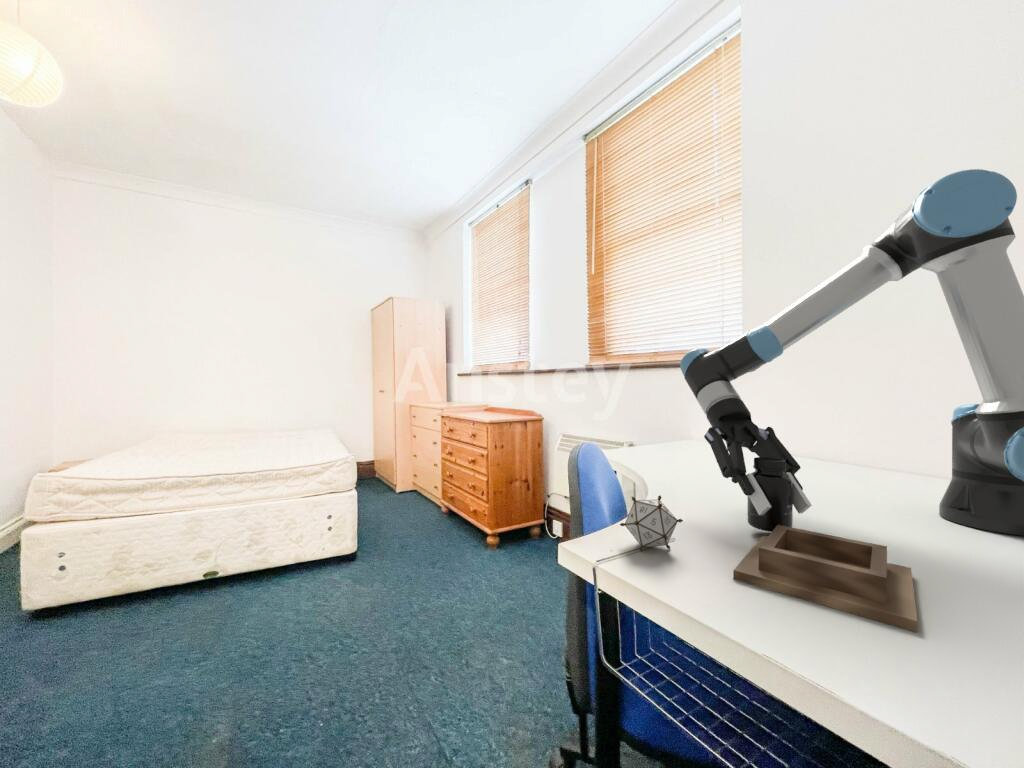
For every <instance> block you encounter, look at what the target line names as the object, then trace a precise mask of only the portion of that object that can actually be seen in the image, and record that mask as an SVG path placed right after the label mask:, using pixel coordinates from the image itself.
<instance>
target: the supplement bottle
mask: <svg viewBox="0 0 1024 768" xmlns="http://www.w3.org/2000/svg"><path fill="white" fill-rule="evenodd" d="M752 467H753V469H754V471H752V472H751V473H752V474H753V476H754V478H755V479H756V481H757V483H758V485H759V486H760V488H761V490H762V491H763V493H764V495H765V497H766V498H767V500H768V502H769V503H770V505H771V508H770V509H769V510H768V511H767V512H766V513H765V514H764V515H759V514H758V512H757V511H756V509H755V507H754V505H753V503H752V502H751V500H750V498H749V496H747V497H746V498H747V500H746V501H747V506H746V507H747V511H746V512H747V514H746V515H747V523H748V525H749V526H750V527H752V528H754V529H758V530H760V531H764V532H768V533H769V532H770V533H771V532H772V531H773V530H774V529H775V527H776V526H777V525H782V526H787V527H792V528H793V521H794V520H793V515H794V514H793V513H794V512H793V509H794V508H793V507H794V505H793V484H792V480H791V479H790V478H789V477H788V476H787V475H785V474H784V471H786V461H785V460H783V459H778V458H769V457H759V456H757V457H753V466H752Z"/></svg>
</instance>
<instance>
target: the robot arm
mask: <svg viewBox="0 0 1024 768" xmlns="http://www.w3.org/2000/svg"><path fill="white" fill-rule="evenodd" d="M1017 194H1018V193H1017V189H1016V187H1015V185H1014V183H1013V182H1012V181H1011V180H1010V179H1009V178H1007V177H1006V176H1005V175H1003V174H1001V173H998V172H996V171H993V170H992V171H990V170H987V169H981V168H980V169H979V168H977V169H976V168H975V169H965V170H959V171H956V172H953V173H952V172H951V173H950V174H946V175H945V176H943V177H942V178H939V179H938V180H936V181H935V182H933V183H932V184H931V185H929V186H927V187H926V188H925V189H923V190H922V191H921V192H920V193H919V194H918V195H917V196H916V198H915V199H914V201H913V202H912V203H911V204H910V205H909V206H908V207H907V208H906V209H905V210H903V212H902V213H900V215H899V216H898V217H897V218H896V219H895V220H894V222H893V223H892V224H891V225H889V227H888V228H886V230H885V231H884V232H882V234H880V235H879V236H878V237H877V238H876V239H874V240H873V241H872V242H871V243H869V244H868V245H866V246H865V247H863V249H862V254H861V256H859V257H858V258H856V259H854V260H853V261H852V262H850V263H849V264H848V265H846V266H845V267H843V268H842V269H841V270H839V271H838V272H836V273H835V274H834V275H832V276H830V277H829V278H828V279H826V280H825V281H823V282H822V283H821V284H819V285H818V286H816V287H815V288H813V289H812V290H811V291H809V292H808V293H806V294H805V295H804V296H802V297H801V298H799V299H798V300H796V301H795V302H793V303H792V304H790V306H788V307H787V308H785V309H784V310H782V311H781V312H780V313H778V314H776V315H775V316H774V317H772V318H771V319H769V320H768V321H766V322H765V323H764V324H762V325H759V326H757V327H755V328H753V329H749V330H748V331H746V332H745V333H743V334H742V335H740V336H738V337H737V338H735V339H733V340H731V341H729V342H728V343H726V344H724V345H723V346H721V347H719V348H717V349H716V350H712V351H710V350H708V349H706V348H698V349H693V350H690V351H688V352H686V354H685V355H684V356H683V357H682V359H681V360H680V363H679V366H680V367H679V368H680V370H681V373H682V375H683V377H684V380H685V382H686V383H687V385H688V387H689V388H690V390H691V392H692V393H693V396H694V397H695V399H696V401H697V403H698V405H699V406H700V407H701V410H702V411H703V413H704V414H705V415H706V419H707V421H708V422H709V424H710V426H711V427H709V428H708V430H707V431H706V432H705V434H704V436H703V437H704V439H705V441H706V442H707V443H708V444H709V445H710V447H711V450H712V452H713V455H714V457H715V460H716V463H717V465H718V467H719V470H720V473H721V475H722V476H723V478H725V479H729V478H731V479H730V480H731V482H732V483H733V484H738V485H739V487H740V489H741V490H742V493H743V494H744V495H745V496H746V497H748V496H749V498H750V500H751V502H752V503H753V505H754V507H755V509H756V511H757V512H758V514H759V515H764V514H765V513H766V512H767V511H768V510H769V509H770V508H771V505H770V503H769V502H768V500H767V498H766V497H765V495H764V493H763V491H762V490H761V488H760V486H759V485H758V483H757V481H756V479H755V478H754V476H753V474H752V473H753V472H751V473H750V472H749V473H747V468H746V463H745V461H746V460H745V456H744V452H743V448H746V449H748V450H749V451H750V452H751V453H754V454H756V455H757V457H769V458H778V459H783V460H785V461H786V471H784V474H785V475H787V476H788V477H789V478H790V479H791V480H792V484H793V507H794V508H795V510H796V512H797V513H798V514H803V513H804V512H806V511H808V509H810V507H812V506H813V505H812V503H811V502H810V500H809V499H808V497H807V496H806V494H805V493H804V491H803V490H804V489H803V486H802V484H801V482H800V481H799V480H798V478H797V477H796V475H795V474H796V473H797V472H799V471H800V470H801V466H800V464H799V463H798V461H797V460H796V459H795V458H794V457H793V455H792V454H791V453H790V451H789V450H788V449H787V448H786V447H785V445H784V444H783V443H782V442H781V440H780V439H779V438H778V437H777V435H776V433H775V430H774V428H773V427H771V426H767V427H766V428H760V427H759V426H758V425H757V424H755V422H753V421H752V414H751V411H750V410H749V408H748V407H747V406H746V404H745V403H744V401H743V400H742V398H741V397H740V394H739V393H738V392H737V390H736V389H735V388H734V385H733V384H732V381H735V380H736V379H738V378H739V377H742V376H744V375H746V374H748V373H752V372H755V371H756V370H758V369H760V368H761V367H762V366H764V365H765V364H767V363H771V362H772V361H774V360H775V359H777V358H778V357H780V356H782V355H783V354H784V351H785V350H787V349H789V348H790V347H791V346H793V345H794V344H796V343H797V342H799V341H800V340H802V339H803V338H805V337H806V336H808V335H809V334H811V333H812V332H815V330H817V329H819V328H821V326H823V325H824V324H825V325H826V324H827V323H828V322H830V321H831V320H832V319H833V318H836V317H837V316H838V315H840V314H842V313H843V312H844V311H846V310H847V309H849V308H850V307H852V306H853V305H855V304H856V303H859V302H860V301H861V300H862V299H864V298H865V297H867V296H868V295H870V294H872V293H873V292H874V291H876V290H877V289H879V288H881V287H882V286H884V285H886V284H887V283H889V282H898V281H900V280H902V279H903V278H906V276H909V275H910V274H911V273H913V272H915V271H917V270H918V269H920V268H921V269H923V270H925V271H929V272H933V273H935V274H936V277H937V280H938V282H939V284H940V287H941V290H942V292H943V295H944V298H945V300H946V303H947V306H948V309H949V311H950V314H951V317H952V319H953V323H954V325H955V327H956V330H957V333H958V336H959V338H960V341H961V343H962V345H963V349H964V352H965V354H966V357H967V359H968V362H969V365H970V368H971V370H972V373H973V376H974V378H975V380H976V383H977V386H978V389H979V391H980V394H981V396H982V402H981V403H973V404H962V405H959V406H957V407H955V408H954V409H953V412H952V414H953V415H952V419H951V421H950V422H951V423H950V424H951V426H952V428H951V431H952V432H951V443H952V445H951V480H950V482H949V484H948V486H947V489H946V490H945V492H944V494H943V496H942V498H941V500H940V501H939V505H938V515H939V516H940V517H941V518H944V519H946V520H948V521H950V522H953V523H955V524H956V523H957V524H959V525H964V526H968V527H971V528H976V529H980V530H985V531H989V532H990V531H991V532H994V533H1001V534H1007V535H1014V536H1015V535H1016V536H1022V537H1024V293H1023V290H1022V287H1021V286H1020V285H1021V284H1020V283H1019V280H1018V277H1017V274H1016V272H1015V271H1014V268H1013V266H1012V265H1013V264H1012V263H1011V260H1010V257H1009V255H1008V252H1007V251H1008V248H1009V247H1010V245H1011V244H1012V243H1013V242H1014V240H1015V239H1016V237H1017V236H1016V234H1015V231H1014V229H1013V226H1012V223H1011V221H1010V219H1009V216H1011V214H1012V213H1013V211H1014V208H1015V206H1016V204H1017V200H1018V195H1017Z"/></svg>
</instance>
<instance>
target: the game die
mask: <svg viewBox="0 0 1024 768" xmlns="http://www.w3.org/2000/svg"><path fill="white" fill-rule="evenodd" d="M631 500H632V502H633V503H632V506H631V508H630V511H629V512H628V515H627V518H626V520H625V523H624V522H621V523H620V524H619V526H621V527H626V529H627V531H628V532H629V533H630V534H631V535H632V536H633V538H634V539H635V540H636V541H637V543H638V544H639V545H640V547H639V551H640V550H644V548H646V547H663V546H665V547H666V549H668V550H671V546H670V545H669V543H670V540H671V538H672V535H673V533H674V531H675V529H676V527H677V524H678V523H682V522H684V520H683V519H682V518H678V519H677V518H676V517H675V515H674V514H673V513H672V512H671V511H670V510H669V508H667V506H666V505H665V504H664V503H663V502H662V501H661V500H662V496H661V495H658V496H657V499H641V500H640V499H639V500H637V499H636V497H634V496H631Z"/></svg>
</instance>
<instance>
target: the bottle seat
mask: <svg viewBox="0 0 1024 768" xmlns="http://www.w3.org/2000/svg"><path fill="white" fill-rule="evenodd" d="M732 574H733V575H732V576H733V578H732V579H733V580H736V581H739V582H743V583H745V584H749V585H753V586H757V587H760V588H764V589H765V590H766V589H767V590H771V591H774V592H778V593H781V594H784V595H788V596H791V597H793V598H797V599H802V600H805V601H808V602H812V603H815V604H819V605H822V606H826V607H828V608H832V609H836V610H839V611H843V612H846V613H848V614H849V613H850V614H853V615H856V616H860V617H862V618H866V619H870V620H874V621H877V622H880V623H883V624H886V625H887V624H888V625H891V626H893V627H897V628H901V629H904V630H907V631H910V632H915V633H918V616H917V615H918V614H917V607H916V600H915V599H916V598H915V591H914V584H913V583H914V581H913V575H912V574H913V573H912V567H909V566H904V565H899V564H896V563H895V564H894V563H891V562H888V546H886V545H882V544H876V543H871V542H866V541H861V540H855V539H852V538H847V537H842V536H835V535H831V534H825V533H821V532H817V531H810V530H806V529H801V528H796V527H793V526H792V527H787V526H782V525H777V526H776V527H775V529H774V530H773V531H772V532H770V534H769V535H768V536H767V535H762V536H761V537H760V538H759V540H758V541H757V542H756V543H755V544H754V545H753V547H751V549H750V550H749V551H748V552H747V554H746V555H745V556H744V557H743V558H742V560H740V561H739V563H737V565H736V567H735V568H734V569H733V571H732Z"/></svg>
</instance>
